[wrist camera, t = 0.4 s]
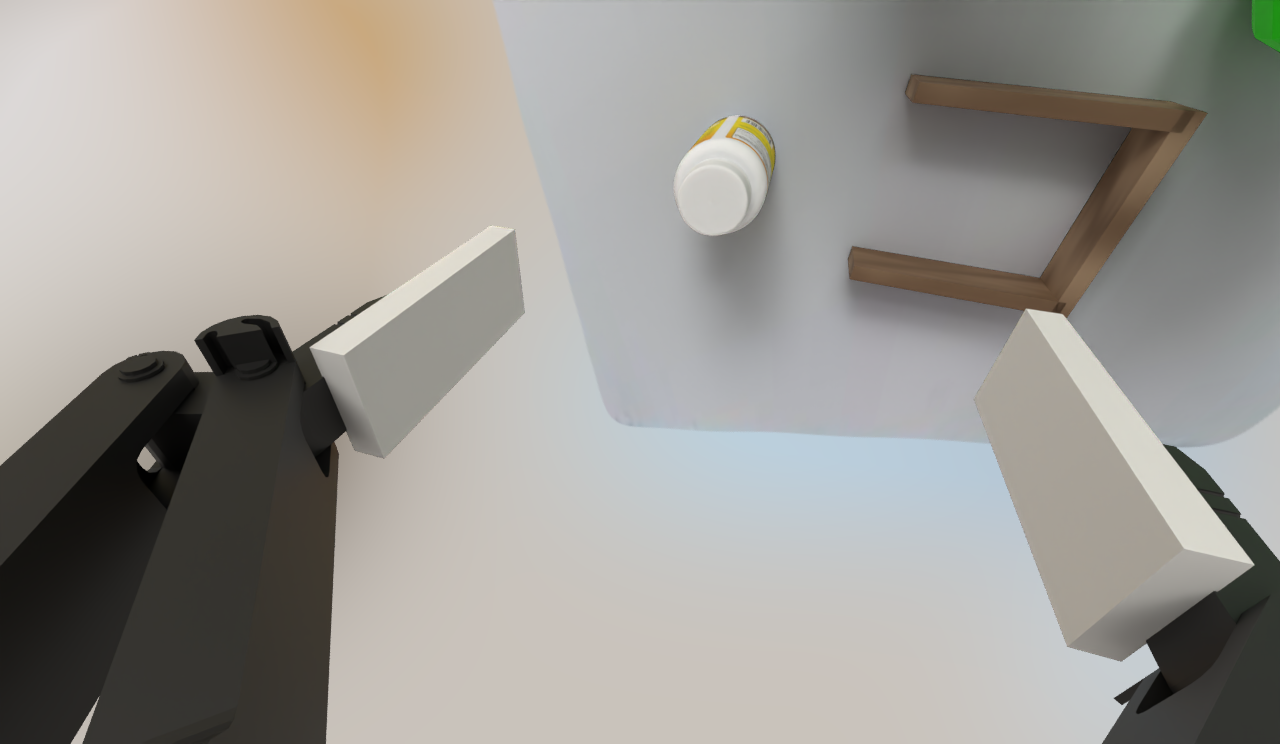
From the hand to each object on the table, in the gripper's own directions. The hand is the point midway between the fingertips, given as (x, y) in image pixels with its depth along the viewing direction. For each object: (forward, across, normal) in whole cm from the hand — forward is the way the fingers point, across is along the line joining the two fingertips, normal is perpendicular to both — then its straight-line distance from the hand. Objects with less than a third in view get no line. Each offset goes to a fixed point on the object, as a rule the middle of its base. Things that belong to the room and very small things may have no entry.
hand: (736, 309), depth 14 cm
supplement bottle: (+26, -3, -2) cm, 26 cm away
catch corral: (+26, +13, -3) cm, 29 cm away
